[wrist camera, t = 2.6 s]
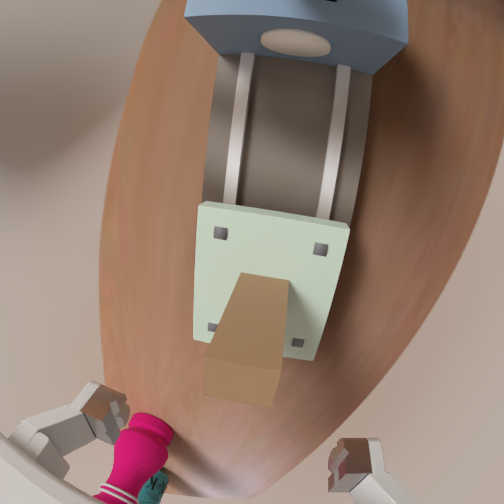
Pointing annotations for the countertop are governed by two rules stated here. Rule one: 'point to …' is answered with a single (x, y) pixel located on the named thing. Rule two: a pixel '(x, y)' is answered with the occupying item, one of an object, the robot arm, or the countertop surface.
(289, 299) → the carriage
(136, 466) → the pepper mill
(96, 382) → the robot arm
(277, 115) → the track
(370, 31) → the blue side pieces
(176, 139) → the countertop surface
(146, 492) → the beverage bottle
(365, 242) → the countertop surface
